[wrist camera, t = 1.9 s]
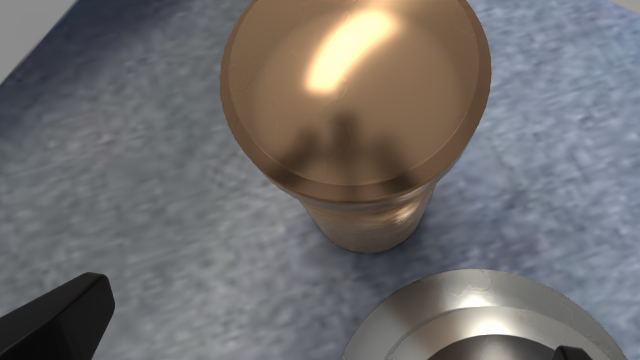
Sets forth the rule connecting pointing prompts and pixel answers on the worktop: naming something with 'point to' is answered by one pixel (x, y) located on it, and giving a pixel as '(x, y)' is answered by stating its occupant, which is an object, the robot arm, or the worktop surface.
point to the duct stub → (477, 321)
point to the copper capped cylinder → (356, 106)
